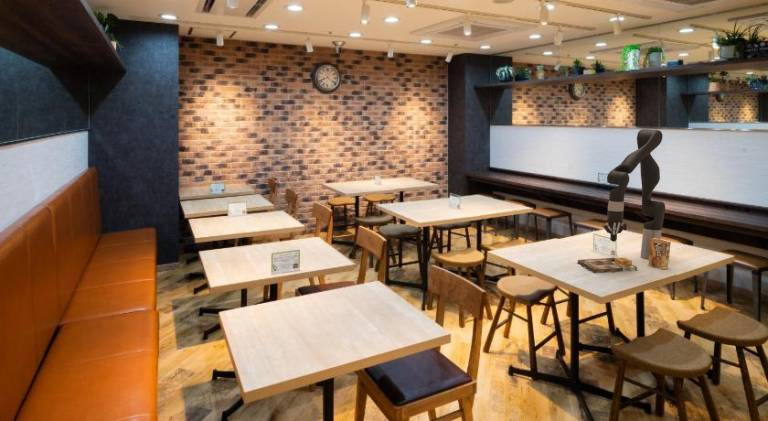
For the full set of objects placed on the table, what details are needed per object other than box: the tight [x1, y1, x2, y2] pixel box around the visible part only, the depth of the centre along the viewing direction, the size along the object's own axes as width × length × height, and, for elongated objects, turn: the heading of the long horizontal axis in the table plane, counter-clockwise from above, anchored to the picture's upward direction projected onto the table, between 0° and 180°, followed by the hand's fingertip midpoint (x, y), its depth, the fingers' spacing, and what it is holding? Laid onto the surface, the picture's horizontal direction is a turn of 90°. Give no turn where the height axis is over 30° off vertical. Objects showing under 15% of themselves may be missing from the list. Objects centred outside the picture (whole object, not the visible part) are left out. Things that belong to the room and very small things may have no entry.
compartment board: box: [577, 257, 638, 274], centre depth 263 cm, size 24×17×4 cm
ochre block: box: [614, 256, 633, 267], centre depth 260 cm, size 6×6×3 cm
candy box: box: [647, 238, 672, 270], centre depth 260 cm, size 9×4×15 cm, turn 34°
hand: (613, 241), depth 257 cm, fingers closed
